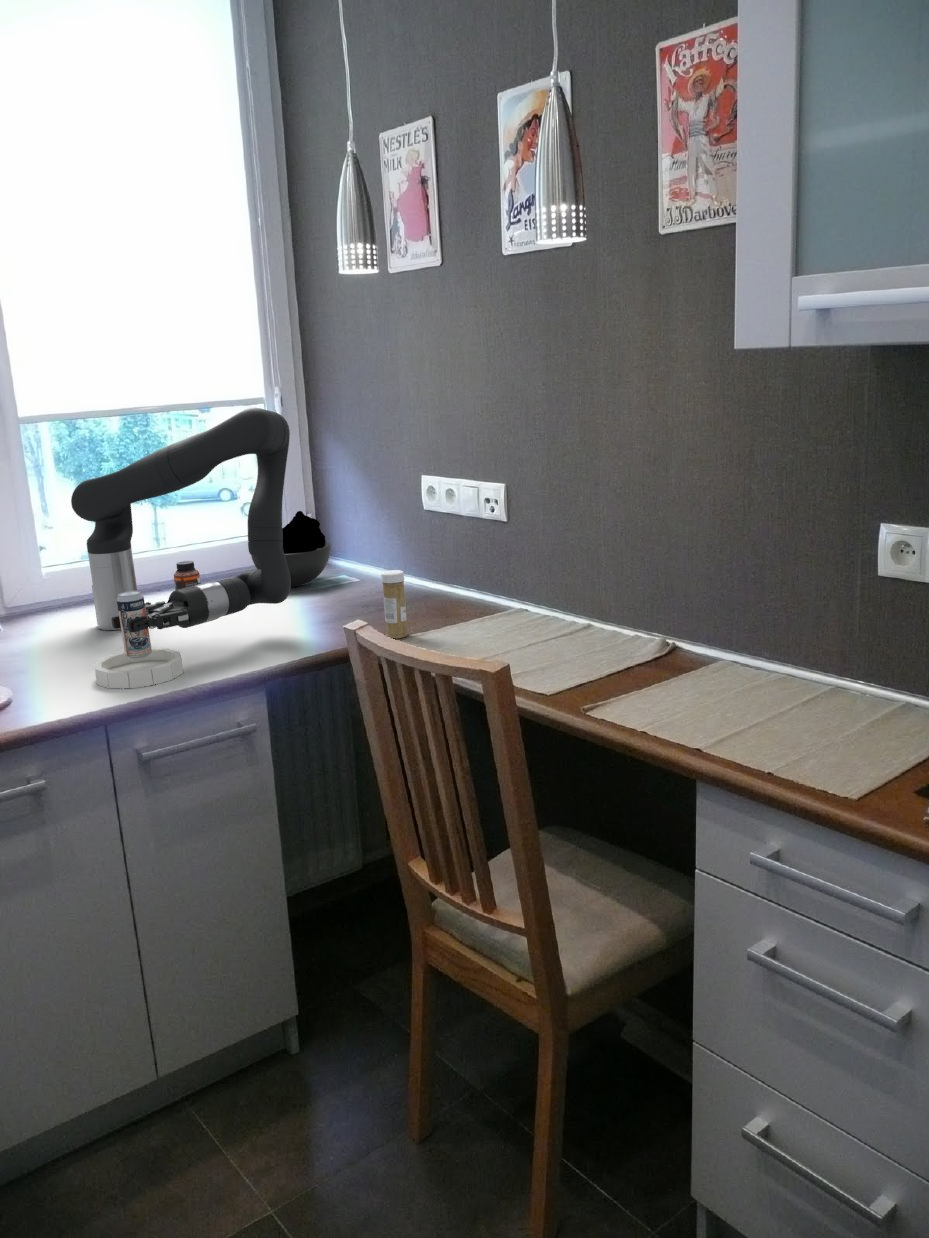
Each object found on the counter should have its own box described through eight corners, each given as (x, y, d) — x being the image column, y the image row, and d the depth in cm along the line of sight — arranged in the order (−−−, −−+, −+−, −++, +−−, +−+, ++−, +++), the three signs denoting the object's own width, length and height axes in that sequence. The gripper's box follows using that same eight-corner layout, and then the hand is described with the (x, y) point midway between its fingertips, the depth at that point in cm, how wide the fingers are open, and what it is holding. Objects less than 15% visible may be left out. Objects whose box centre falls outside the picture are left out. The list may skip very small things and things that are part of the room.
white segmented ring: (81, 679, 193) (79, 664, 192) (153, 659, 204) (151, 644, 203) (125, 693, 183) (123, 677, 182) (199, 671, 194) (197, 656, 193)
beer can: (128, 661, 189) (118, 597, 186) (123, 655, 194) (113, 593, 191) (154, 656, 192) (145, 593, 188) (149, 650, 196) (140, 588, 193)
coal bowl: (349, 580, 267) (343, 507, 262) (300, 597, 250) (292, 520, 246) (288, 575, 277) (282, 505, 272) (237, 592, 260) (229, 518, 256)
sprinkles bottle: (412, 636, 210) (407, 571, 207) (392, 640, 208) (388, 575, 204) (401, 631, 214) (396, 568, 211) (381, 636, 212) (376, 571, 208)
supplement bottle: (209, 607, 246) (203, 560, 243) (190, 613, 241) (184, 565, 238) (191, 605, 249) (185, 559, 246) (172, 610, 244) (166, 563, 241)
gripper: (175, 581, 205) (97, 601, 193) (218, 589, 196) (139, 609, 183) (180, 618, 207) (103, 639, 195) (223, 627, 197) (145, 650, 185)
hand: (121, 625), depth 189 cm, fingers closed on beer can, 4 cm apart
